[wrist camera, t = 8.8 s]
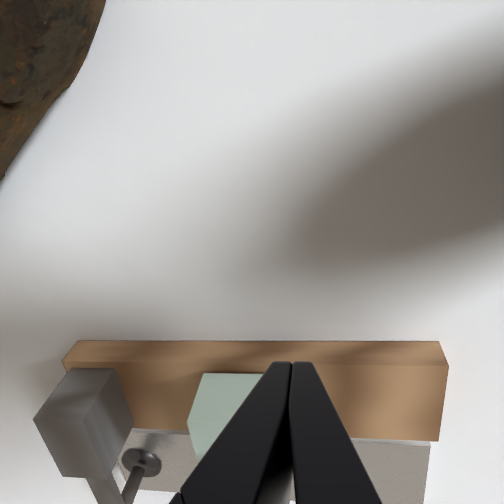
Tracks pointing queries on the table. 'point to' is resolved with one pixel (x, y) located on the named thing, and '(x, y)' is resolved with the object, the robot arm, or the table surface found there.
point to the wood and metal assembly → (232, 362)
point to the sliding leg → (216, 406)
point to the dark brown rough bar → (39, 61)
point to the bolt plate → (369, 450)
